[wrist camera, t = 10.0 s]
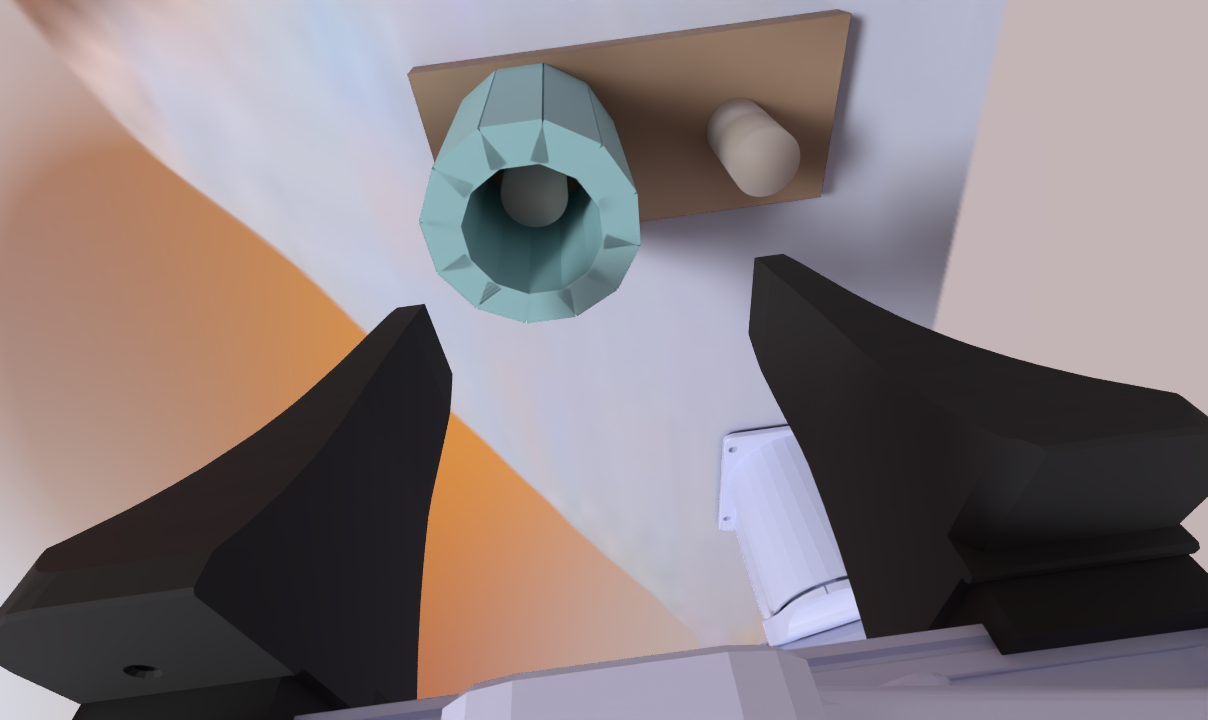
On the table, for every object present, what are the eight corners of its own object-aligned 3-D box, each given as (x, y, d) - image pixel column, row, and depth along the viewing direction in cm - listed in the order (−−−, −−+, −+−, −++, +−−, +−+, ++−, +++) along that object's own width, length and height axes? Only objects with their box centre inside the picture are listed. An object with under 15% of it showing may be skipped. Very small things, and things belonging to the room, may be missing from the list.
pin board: (810, 186, 21) (861, 239, 18) (463, 234, 21) (448, 295, 18) (837, 9, 17) (909, 32, 14) (413, 67, 17) (381, 104, 14)
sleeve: (622, 218, 20) (645, 307, 16) (477, 238, 20) (457, 332, 16) (607, 53, 17) (631, 106, 12) (431, 77, 17) (389, 140, 12)
